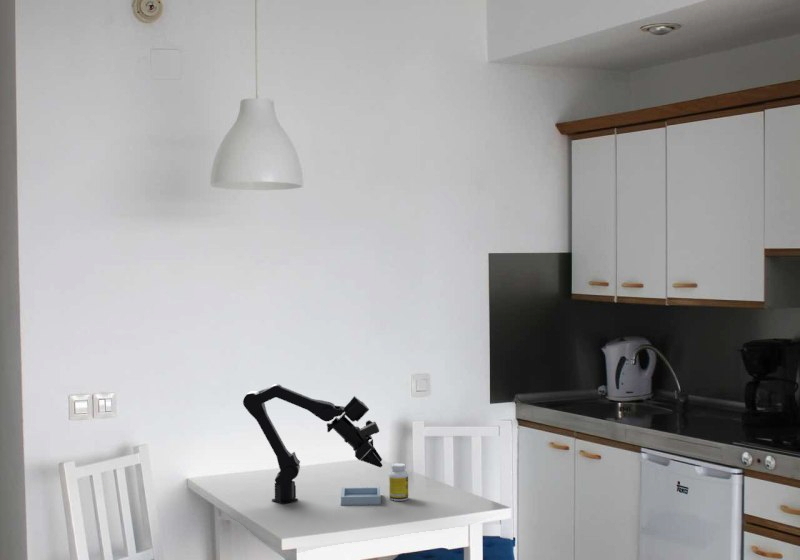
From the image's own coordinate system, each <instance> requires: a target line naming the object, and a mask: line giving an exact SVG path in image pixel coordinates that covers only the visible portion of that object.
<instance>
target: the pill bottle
mask: <svg viewBox="0 0 800 560" xmlns="http://www.w3.org/2000/svg"><path fill="white" fill-rule="evenodd" d="M391 470H392V471H390V472H389V473H388V491H389V493H388V498H389V500H390V501H393V500H394V501H395V502H403V501H407V500H408V499H409V474H408V472H407V471H405V470H406V464H405V463H401V462H399V463H392V464H391Z"/></svg>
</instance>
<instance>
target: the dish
mask: <svg viewBox="0 0 800 560" xmlns="http://www.w3.org/2000/svg"><path fill="white" fill-rule="evenodd" d="M340 494H341V495H340V506H348V505H349V506H350V505H351V506H353V505H354V506H355V505H359V506H363V505H365V506H366V505H368V504H369V505H381V487H379V486H376V487H374V486H373V487H368V486H367V487H342V488H341V493H340Z"/></svg>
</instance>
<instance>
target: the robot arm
mask: <svg viewBox="0 0 800 560" xmlns="http://www.w3.org/2000/svg"><path fill="white" fill-rule="evenodd" d="M274 398H277V399H279V400H282V401H285V402H286V403H290V404H291V405H295V406H296V407H299V408H302V409H304V410H307V411H308V412H310V413H311V414H313V415H314V416H315V417H317V418H319V419H320V420H322V421H324V422H328V423H326V427H327V429H326V430H327V431H326V432H327V433H330V432H331V431H332V430H334V431H335V432H336V433H337V435H339V436H340V437H341V438H342V439H343V442H345V443H346V444H348V445H349V446H350V447H351V449H352V450H353V451H354V457H355V458H356V459H357V460H358V461H361V462H364V463H366V464H370V465H372V466H375V467H377V468H382V467H383V464H382V461H383V458H382V457H381V456H380V453H378V451H377V449H376V448H375V445H374V439H373V435H375V434H377V433H380V428H379V427H378V424H377V422H376V421H372V420H369V419H368V420H366V421H365V425H364V426H363V427H361V428H360V427H359V426H357V425H356V426H355V425H354V423H352V422H359V421H360V420H361V419H362V418H363V417H364V416H365V415H366V414H367V413H368V412H369V410H370V409H369V407H368V406H367V405H366V404H365V403H364V402H363V401H362V400H360V399H359V398H357V397H356V396H355V395H354V396H353V397H352V398H351V399H350V401H348V402H347V404H346V405H345V406H342V405H335V404H334V403H333V402H330V401H326V400H322V399H314V398H311V397H309V396H307V395H303V394H301V393H299V392H297V391H294V390H291V389H290V388H287V387H284V386H282V385H281V384H279V383H276V384H273V385H272V386H269V387H266V388H264V389H262V390H259V391H256V390H252V391H249V392H248V393H247V394H245V396H244V398H243V399H242V404H243V406H244V408H245V410H246V411H247V412H248V413H249V414H250V415H251V416H252V418H254V419H255V420H256V422H257V424H258V425H259V427H260V429H261V431H262V432H263V435H264V436H265V438H266V440H267V442H268V443H269V444H268V445H269V446H270V447H271V449H272V452H273V453H274V455H275V456H276V460H277V464H278V468H279V470H280V471H279V472H278V473H277V474H276V476H275V479H274V498H272V499H271V501H272V502H276V503H279V504H288V503H292V502H296V501H299V499H298V498H297V494H296V493H297V492H296V491H297V489H296V488H297V486H296V481H294V479H295V480H296V478H297V477H298V476H299V472H300V470H301V469H300V468H301V466H300V464H301V460H299V459H298V457H297V455H296V451H293V452H290V451H289V450H288V449H287V447H286V446H285V444H284V442H283V440H282V438H281V437H280V435H279V433H278V431H277V429H276V427H275V425H274V423H273V421H272V420H271V418H270V416H269V414H268V411H267V407H266V404H265V403H266V402H269V401H271V400H273V399H274ZM330 421H331V422H330Z"/></svg>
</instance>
